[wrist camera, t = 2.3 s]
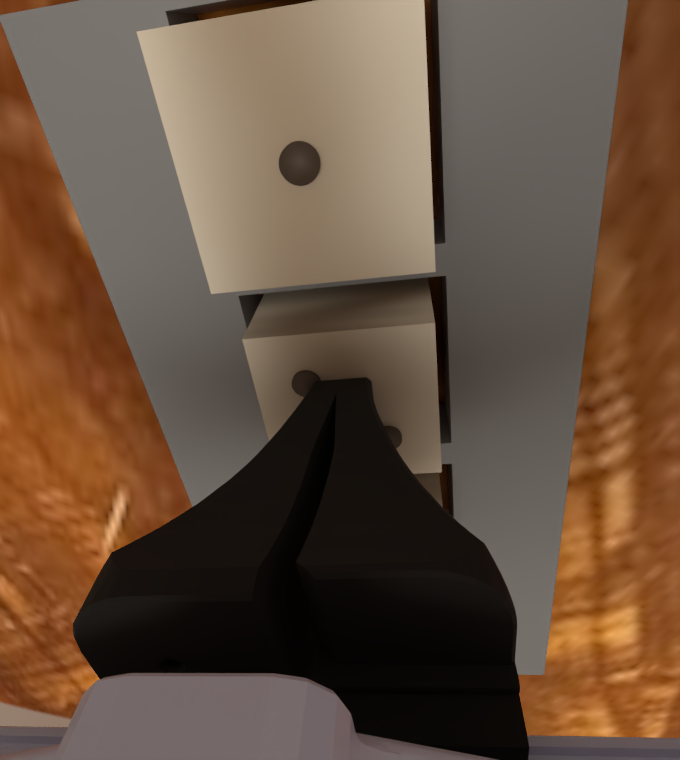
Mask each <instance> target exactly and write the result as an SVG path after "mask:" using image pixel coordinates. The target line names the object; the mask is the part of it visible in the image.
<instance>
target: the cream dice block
mask: <svg viewBox="0 0 680 760" xmlns="http://www.w3.org/2000/svg"><path fill="white" fill-rule="evenodd" d="M242 341H243V345H244V348H245V352H246V356H247V360H248V363H249V367H250V371H251V375H252V379H253V382H254V386H255V390H256V394H257V398H258V401H259V405H260V409H261V413H262V416H263V420H264V424H265V428H266V432H267V435H268V439H269V441H270V440H271V438H272V437H273V436H274V435H275V434H276V433H277V432H278V430H279V429H280V428H281V427H282V426H283V424H284V423H285V422H286V421H287V419H288V418H289V417H290V416H291V414H292V413H293V412H294V410H295V409H296V408H297V406H298V405H299V404H300V402H301V401H302V400H303V398H304V397H305V396H306V394H307V393H308V391H309V390H310V389H311V387H312V386H313V385H314V384H315V383H316V381H323V380H337V379H350V378H364V377H367V378H368V379H369V380H371V382H372V390H373V398H374V403H375V406H376V409H377V412H378V414H379V416H380V419H381V421H382V423H383V425H384V428H385V430H386V432H387V433H388V435H389V437H390V439H391V441H392V443H393V444H394V446H395V448H396V449H397V451H398V453H399V454H400V456H401V457H402V459H403V460H404V462H405V463H406V465H407V466H408V468H409V469H410V470H411V472H412V473H413V474H418V473H440V472H442V465H441V443H440V421H439V398H438V376H437V354H436V332H435V319H434V313H433V307H432V300H431V294H430V288H429V281H428V277H427V278H416V279H406V280H396V281H385V282H375V283H365V284H355V285H344V286H334V287H324V288H313V289H303V290H293V291H283V292H272V293H264V295H263V297H262V299H261V301H260V304H259V306H258V308H257V310H256V312H255V314H254V316H253V318H252V320H251V322H250V324H249V326H248V328H247V330H246V332H245V335H244V337H243V339H242Z"/></svg>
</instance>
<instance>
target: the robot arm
mask: <svg viewBox="0 0 680 760" xmlns="http://www.w3.org/2000/svg"><path fill="white" fill-rule="evenodd" d="M73 633H74V638H75V640H76V642H77V644H78V646H79V648H80V650H81V652H82V654H83V655H84V657H85V658H86V659H87V661H88V662H89V664H90V665H91V667H92V668H93V670H94V671H95V673H96V674H97V675H98V677H99V678H100V680H98V681H96V682H95V683H94V684H93V685H92V686H91V687H90V688H89V689H88V690H87V691H86V692H85V693H84V694H83V696H82V698H81V700H80V702H79V705H78V707H77V709H76V711H75V713H74V715H73V718H72V720H71V722H70V724H69V726H68V727H16V726H0V760H680V738H641V737H585V736H528V735H527V732H526V727H525V722H524V717H523V712H522V707H521V702H520V697H519V692H520V685H519V679H518V674H517V669H516V664H515V652H516V638H517V616H516V611H515V607H514V604H513V601H512V598H511V595H510V593H509V590H508V588H507V585H506V583H505V581H504V579H503V577H502V574H501V573H500V571H499V569H498V567H497V565H496V563H495V561H494V559H493V557H492V556H491V554H490V552H489V550H488V548H487V547H486V545H485V543H484V542H482V541H481V540H480V539H478V538H477V537H476V536H474V535H473V534H472V533H471V532H469V531H468V530H467V529H466V528H465V527H464V526H462V525H461V524H460V523H459V522H458V521H457V520H456V519H454V518H453V517H452V516H451V515H450V514H449V513H448V512H447V511H446V510H445V509H444V508H443V507H442V506H441V505H440V504H439V503H438V502H437V501H436V500H435V499H434V498H433V496H432V495H431V494H430V493H429V492H428V491H427V490H426V489H425V488H424V487H423V486H422V484H421V483H420V482H419V481H418V479H417V478H416V477H415V476H414V474H413V473H412V472H411V470H410V469H409V468H408V466H407V465H406V463H405V462H404V460H403V459H402V457H401V456H400V454H399V453H398V451H397V449H396V448H395V446H394V444H393V443H392V441H391V439H390V437H389V435H388V433H387V432H386V430H385V428H384V425H383V423H382V421H381V419H380V416H379V414H378V412H377V409H376V406H375V403H374V398H373V390H372V382H371V380H369V379H368V378H367V377H364V378H350V379H337V380H323V381H316V383H315V384H314V385H313V386H312V387H311V389H310V390H309V391H308V393H307V394H306V396H305V397H304V398H303V400H302V401H301V402H300V404H299V405H298V406H297V408H296V409H295V410H294V412H293V413H292V414H291V416H290V417H289V418H288V419H287V421H286V422H285V423H284V424H283V426H282V427H281V428H280V429H279V430H278V432H277V433H276V434H275V435H274V436H273V437H272V438H271V440H270V441H269V442H268V443H267V444H266V445H265V446H264V447H263V448H262V449H261V451H260V452H259V453H258V454H257V455H256V456H255V457H254V458H253V459H252V460H251V461H250V462H249V463H248V464H247V465H245V466H244V467H243V468H242V469H241V470H240V471H239V472H238V473H236V474H235V475H234V476H233V477H232V478H231V479H229V480H228V481H227V482H226V483H224V484H223V485H222V486H220V487H219V488H218V489H216V490H215V491H214V492H213V493H211V494H210V495H209V496H207V497H206V498H205V499H203V500H202V501H201V502H199V503H198V504H196V505H195V506H193V507H192V508H190V509H189V510H187V511H186V512H184V513H183V514H181V515H180V516H178V517H176V518H175V519H173V520H171V521H170V522H168V523H167V524H165V525H163V526H161V527H160V528H158V529H156V530H155V531H153V532H151V533H149V534H147V535H145V536H143V537H141V538H139V539H137V540H136V541H134V542H132V543H130V544H128V545H126V546H124V547H122V548H120V549H118V550H116V551H114V552H112V553H111V555H110V556H109V558H108V560H107V561H106V563H105V565H104V566H103V568H102V570H101V571H100V573H99V575H98V577H97V579H96V581H95V583H94V584H93V586H92V588H91V590H90V592H89V594H88V596H87V598H86V600H85V602H84V604H83V606H82V608H81V609H80V611H79V613H78V615H77V617H76V619H75V621H74V623H73Z"/></svg>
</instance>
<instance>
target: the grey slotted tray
mask: <svg viewBox="0 0 680 760" xmlns="http://www.w3.org/2000/svg"><path fill="white" fill-rule="evenodd" d="M271 1H276V0H80V1H75V2H69V3H64V4H58V5H53V6H47V7H42V8H37V9H31V10H26V11H20V12H15V13H10V14H4V15H0V21H1V24H2V26H3V29H4V31H5V34H6V37H7V39H8V42H9V44H10V47H11V49H12V52H13V54H14V57H15V59H16V62H17V64H18V67H19V69H20V72H21V74H22V77H23V80H24V82H25V85H26V87H27V90H28V92H29V95H30V97H31V100H32V102H33V105H34V107H35V110H36V112H37V115H38V117H39V120H40V122H41V125H42V128H43V130H44V133H45V135H46V138H47V140H48V143H49V145H50V148H51V150H52V153H53V155H54V158H55V160H56V163H57V165H58V168H59V170H60V173H61V176H62V178H63V181H64V183H65V186H66V188H67V191H68V193H69V196H70V198H71V201H72V203H73V206H74V208H75V211H76V213H77V216H78V219H79V221H80V224H81V226H82V229H83V231H84V234H85V236H86V239H87V241H88V244H89V246H90V249H91V251H92V254H93V256H94V259H95V261H96V264H97V267H98V269H99V272H100V274H101V277H102V279H103V282H104V284H105V287H106V289H107V292H108V294H109V297H110V299H111V302H112V304H113V307H114V309H115V312H116V315H117V317H118V320H119V322H120V325H121V327H122V330H123V332H124V335H125V337H126V340H127V342H128V345H129V347H130V350H131V352H132V355H133V358H134V360H135V363H136V365H137V368H138V370H139V373H140V375H141V378H142V380H143V383H144V385H145V388H146V390H147V393H148V395H149V398H150V400H151V403H152V406H153V408H154V411H155V413H156V416H157V418H158V421H159V423H160V426H161V428H162V431H163V433H164V436H165V438H166V441H167V443H168V446H169V448H170V451H171V454H172V456H173V459H174V461H175V464H176V466H177V469H178V471H179V474H180V476H181V479H182V481H183V484H184V486H185V489H186V491H187V494H188V497H189V499H190V502H191V504H192V507H193V506H195V505H196V504H198V503H199V502H201V501H202V500H203V499H205V498H206V497H207V496H209V495H210V494H211V493H213V492H214V491H215V490H216V489H218V488H219V487H220V486H222V485H223V484H224V483H226V482H227V481H228V480H229V479H231V478H232V477H233V476H234V475H235V474H236V473H238V472H239V471H240V470H241V469H242V468H243V467H244V466H245V465H247V464H248V463H249V462H250V461H251V460H252V459H253V458H254V457H255V456H256V455H257V454H258V453H259V452H260V451H261V449H262V448H263V447H264V446H265V445H266V444H267V443H268V442H269V439H268V435H267V432H266V428H265V424H264V420H263V416H262V413H261V409H260V405H259V401H258V398H257V394H256V390H255V386H254V382H253V379H252V375H251V371H250V367H249V363H248V360H247V356H246V352H245V348H244V345H243V341H242V339H243V337H244V335H245V332H246V330H247V328H248V326H249V324H250V322H251V320H252V318H253V316H254V314H255V312H256V310H257V308H258V306H259V304H260V301H261V299H262V295H261V294H262V293H272V292H283V291H293V290H303V289H313V288H324V287H334V286H344V285H355V284H365V283H375V282H385V281H396V280H406V279H416V278H427V277H437V276H441V294H442V321H443V349H444V376H445V404H439V421H440V443H441V464H448V484H449V512H450V515H451V516H452V517H453V518H454V519H456V520H457V521H458V522H459V523H460V524H461V525H462V526H464V527H465V528H466V529H467V530H468V531H469V532H471V533H472V534H473V535H474V536H476V537H477V538H478V539H480V540H481V541H482V542H484V543H485V545H486V547H487V548H488V550H489V552H490V554H491V556H492V557H493V559H494V561H495V563H496V565H497V567H498V569H499V571H500V573H501V574H502V577H503V579H504V581H505V583H506V585H507V588H508V590H509V593H510V595H511V598H512V601H513V604H514V607H515V611H516V616H517V638H516V652H515V664H516V669H517V674H518V675H544V670H545V662H546V654H547V646H548V638H549V630H550V622H551V614H552V606H553V598H554V590H555V582H556V574H557V566H558V558H559V550H560V542H561V534H562V525H563V517H564V509H565V501H566V493H567V485H568V477H569V469H570V461H571V453H572V445H573V437H574V429H575V421H576V413H577V405H578V397H579V389H580V381H581V373H582V365H583V357H584V349H585V341H586V333H587V325H588V317H589V309H590V301H591V293H592V285H593V277H594V269H595V261H596V253H597V245H598V237H599V229H600V221H601V213H602V205H603V197H604V189H605V181H606V173H607V165H608V157H609V148H610V140H611V132H612V124H613V116H614V108H615V100H616V92H617V84H618V76H619V68H620V60H621V52H622V44H623V36H624V28H625V20H626V12H627V4H628V0H431V22H432V50H433V77H434V104H435V131H436V158H437V185H438V213H439V218H437V219H433V220H434V244H435V268H436V272H430V273H419V274H409V275H399V276H389V277H379V278H369V279H358V280H348V281H338V282H328V283H318V284H308V285H298V286H287V287H277V288H267V289H257V290H247V291H237V292H226V293H216V294H211V292H210V288H209V285H208V281H207V278H206V274H205V271H204V267H203V264H202V260H201V256H200V253H199V249H198V246H197V242H196V239H195V235H194V232H193V228H192V225H191V221H190V218H189V214H188V211H187V207H186V204H185V200H184V197H183V193H182V190H181V186H180V183H179V179H178V176H177V172H176V169H175V165H174V162H173V158H172V155H171V151H170V148H169V144H168V141H167V137H166V134H165V130H164V127H163V123H162V120H161V116H160V113H159V109H158V106H157V102H156V99H155V95H154V92H153V88H152V85H151V81H150V77H149V74H148V70H147V67H146V63H145V60H144V56H143V53H142V49H141V46H140V42H139V39H138V35H137V31H143V30H149V29H154V28H160V27H166V26H172V25H178V24H183V23H189V22H195V21H198V18H197V14H202V13H208V12H214V11H219V10H225V9H231V8H236V7H242V6H248V5H254V4H259V3H265V2H271Z"/></svg>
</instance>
